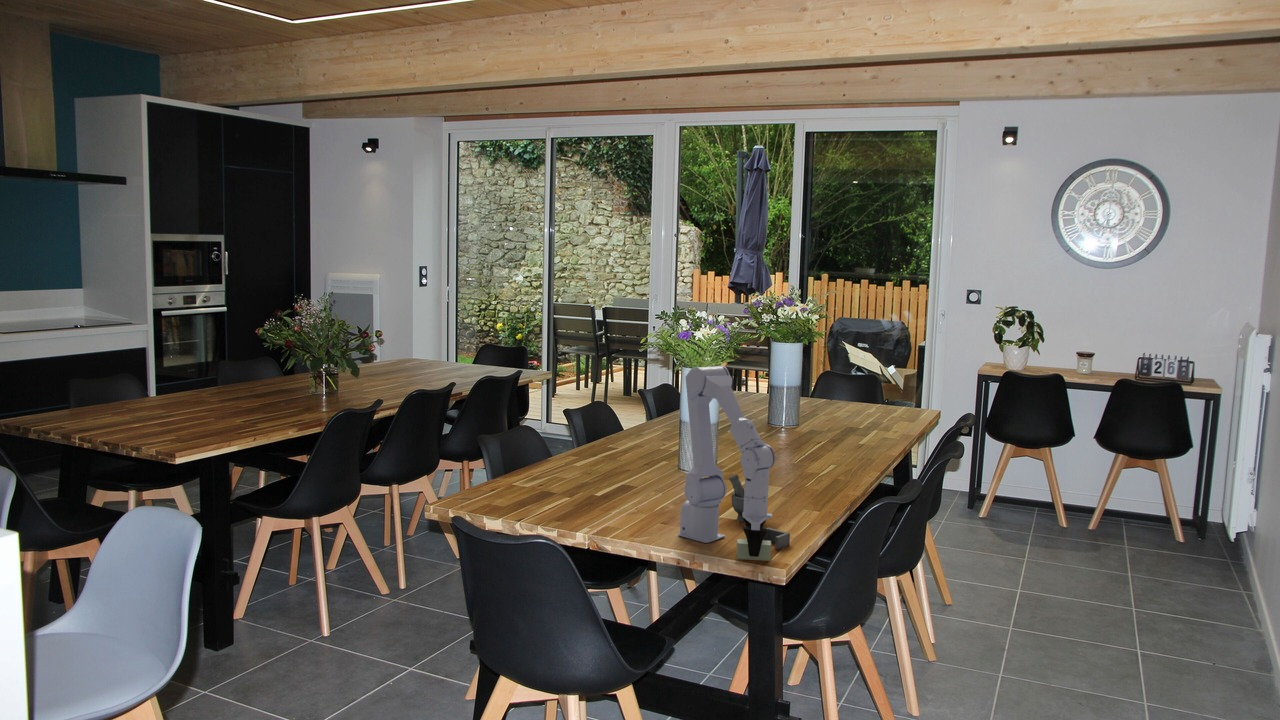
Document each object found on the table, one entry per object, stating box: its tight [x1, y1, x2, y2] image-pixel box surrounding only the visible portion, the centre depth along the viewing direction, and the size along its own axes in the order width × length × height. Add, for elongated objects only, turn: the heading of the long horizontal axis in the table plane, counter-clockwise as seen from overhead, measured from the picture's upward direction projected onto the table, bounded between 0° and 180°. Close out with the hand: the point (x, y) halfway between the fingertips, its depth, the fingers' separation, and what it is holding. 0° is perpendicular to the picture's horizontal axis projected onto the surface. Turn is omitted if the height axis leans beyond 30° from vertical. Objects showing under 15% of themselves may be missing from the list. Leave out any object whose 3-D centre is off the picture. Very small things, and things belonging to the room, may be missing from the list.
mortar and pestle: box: [728, 474, 745, 523], centre depth 258 cm, size 11×9×12 cm
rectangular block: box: [736, 538, 772, 562], centre depth 226 cm, size 8×4×4 cm, turn 84°
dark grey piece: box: [763, 527, 791, 550], centre depth 237 cm, size 7×6×3 cm
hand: (753, 551), depth 226 cm, fingers open, 7 cm apart
